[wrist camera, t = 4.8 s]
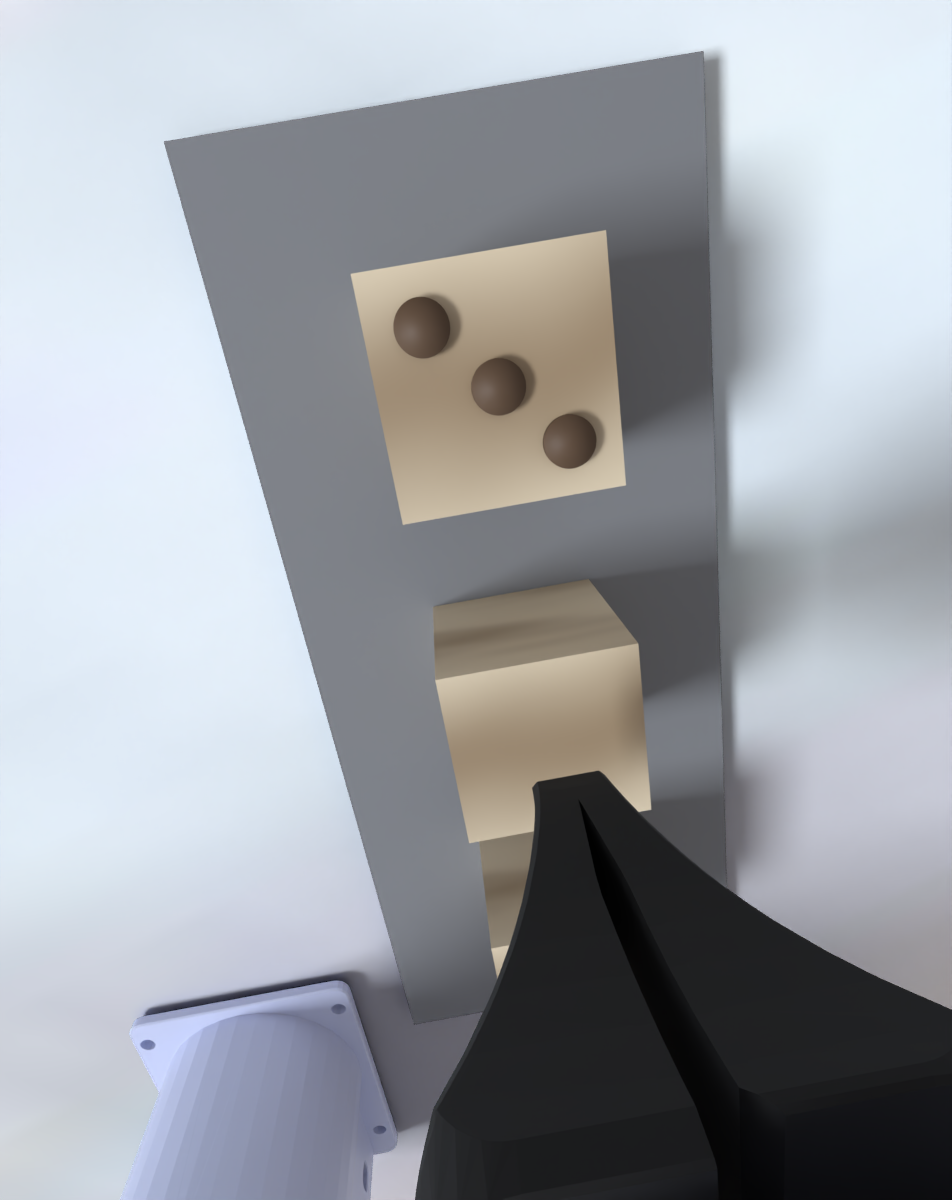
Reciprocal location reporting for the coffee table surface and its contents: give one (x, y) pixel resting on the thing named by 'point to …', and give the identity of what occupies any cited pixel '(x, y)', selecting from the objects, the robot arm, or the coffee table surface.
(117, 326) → the coffee table surface
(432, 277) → the three pip block
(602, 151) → the slate mat
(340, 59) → the coffee table surface
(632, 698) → the plain block
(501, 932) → the two pip block
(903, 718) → the coffee table surface
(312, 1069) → the robot arm
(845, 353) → the coffee table surface
